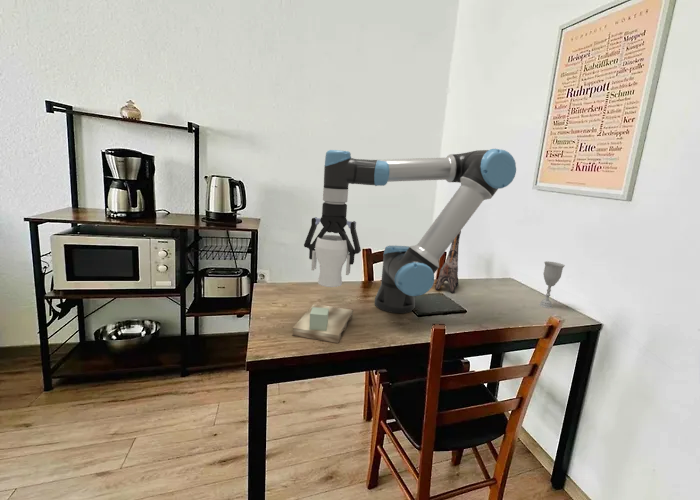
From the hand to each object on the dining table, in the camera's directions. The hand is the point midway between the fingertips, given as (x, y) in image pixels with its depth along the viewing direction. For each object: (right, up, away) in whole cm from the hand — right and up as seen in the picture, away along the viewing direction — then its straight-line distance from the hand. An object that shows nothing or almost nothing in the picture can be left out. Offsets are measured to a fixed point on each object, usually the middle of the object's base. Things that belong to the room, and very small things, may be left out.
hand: (330, 271), depth 113 cm
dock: (-2, -17, 0) cm, 17 cm away
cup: (0, -4, +1) cm, 4 cm away
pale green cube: (-3, -16, -7) cm, 18 cm away
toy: (+50, -10, +47) cm, 70 cm away
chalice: (+87, -16, +32) cm, 94 cm away
